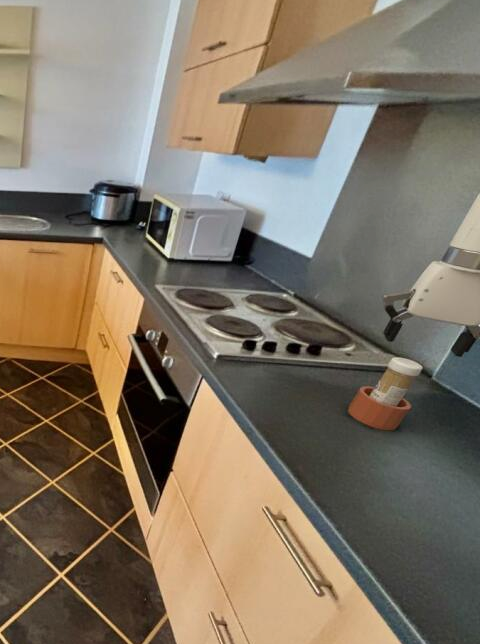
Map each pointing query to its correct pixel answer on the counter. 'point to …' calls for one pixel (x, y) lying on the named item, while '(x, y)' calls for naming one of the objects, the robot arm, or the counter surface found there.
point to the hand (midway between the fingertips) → (420, 346)
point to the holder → (377, 410)
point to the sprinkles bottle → (396, 381)
